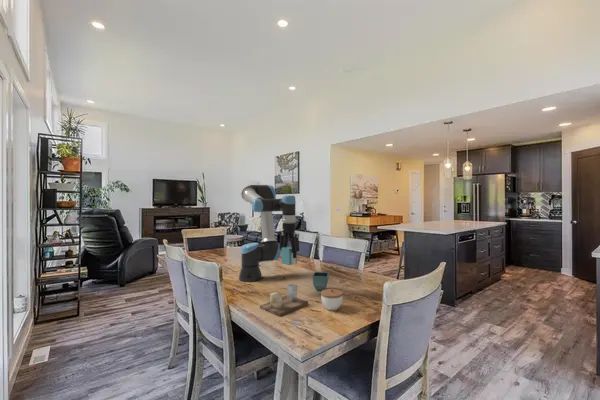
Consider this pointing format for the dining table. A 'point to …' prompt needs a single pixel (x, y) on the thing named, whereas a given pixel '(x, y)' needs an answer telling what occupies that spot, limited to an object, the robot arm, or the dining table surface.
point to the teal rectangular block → (287, 255)
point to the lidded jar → (332, 298)
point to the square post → (291, 292)
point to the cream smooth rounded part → (276, 300)
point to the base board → (284, 306)
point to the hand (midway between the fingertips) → (289, 262)
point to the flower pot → (320, 280)
